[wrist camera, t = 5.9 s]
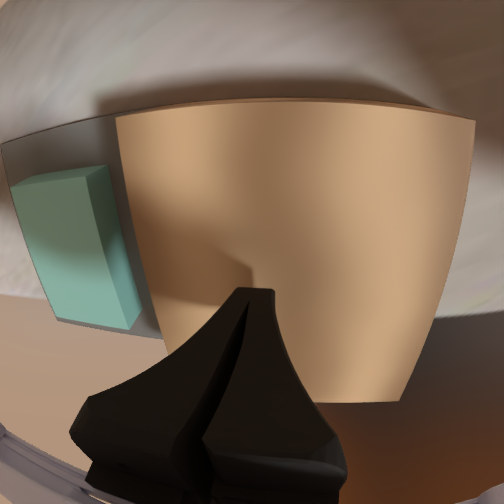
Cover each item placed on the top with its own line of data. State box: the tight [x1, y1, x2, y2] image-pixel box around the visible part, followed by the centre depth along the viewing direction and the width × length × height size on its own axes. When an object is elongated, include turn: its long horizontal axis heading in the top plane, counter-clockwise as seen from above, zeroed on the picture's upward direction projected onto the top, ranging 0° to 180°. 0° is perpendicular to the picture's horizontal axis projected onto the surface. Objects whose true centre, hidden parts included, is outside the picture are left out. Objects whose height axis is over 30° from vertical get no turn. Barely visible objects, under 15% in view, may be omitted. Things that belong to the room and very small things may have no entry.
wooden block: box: [115, 97, 476, 402], centre depth 14 cm, size 12×14×4 cm
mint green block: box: [10, 164, 143, 330], centre depth 16 cm, size 6×9×2 cm, turn 3°
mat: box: [0, 106, 164, 340], centre depth 17 cm, size 12×14×1 cm
